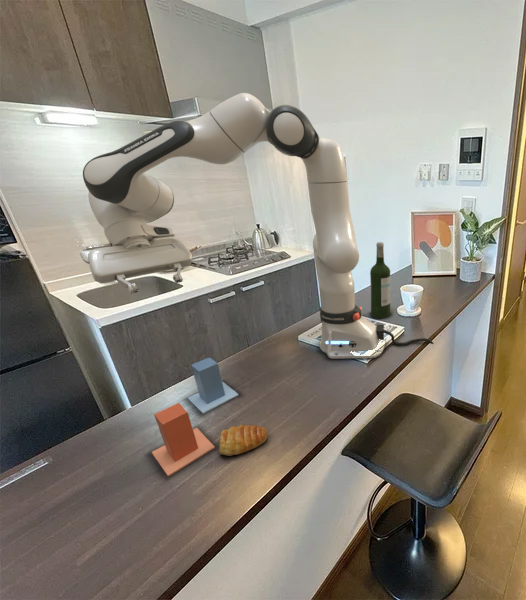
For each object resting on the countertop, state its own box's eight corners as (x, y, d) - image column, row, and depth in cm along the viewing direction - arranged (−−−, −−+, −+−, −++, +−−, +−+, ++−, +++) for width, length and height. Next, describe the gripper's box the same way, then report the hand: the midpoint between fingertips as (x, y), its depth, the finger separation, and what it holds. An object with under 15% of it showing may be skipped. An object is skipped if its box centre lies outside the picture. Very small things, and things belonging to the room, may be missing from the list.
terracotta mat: (151, 453, 69) (151, 452, 69) (197, 428, 76) (196, 427, 76) (168, 476, 64) (167, 475, 64) (215, 448, 71) (214, 446, 71)
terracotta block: (166, 450, 69) (153, 414, 66) (189, 438, 73) (178, 402, 69) (175, 462, 67) (162, 424, 63) (198, 448, 70) (187, 411, 66)
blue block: (199, 396, 86) (190, 364, 82) (217, 388, 89) (209, 357, 85) (207, 404, 83) (198, 371, 79) (225, 395, 86) (217, 363, 82)
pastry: (267, 427, 77) (265, 414, 75) (267, 449, 71) (264, 436, 69) (223, 437, 74) (220, 424, 72) (219, 461, 68) (215, 447, 66)
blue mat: (187, 398, 85) (187, 397, 85) (222, 382, 92) (222, 381, 92) (203, 414, 80) (202, 412, 80) (238, 395, 87) (238, 394, 87)
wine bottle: (376, 309, 140) (375, 239, 128) (393, 312, 137) (393, 241, 125) (367, 316, 133) (365, 243, 122) (384, 319, 130) (384, 246, 118)
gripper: (75, 239, 71) (102, 291, 69) (179, 227, 86) (203, 270, 84) (78, 256, 75) (103, 305, 74) (176, 241, 90) (199, 282, 89)
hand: (158, 286), depth 79 cm, fingers open, 8 cm apart
